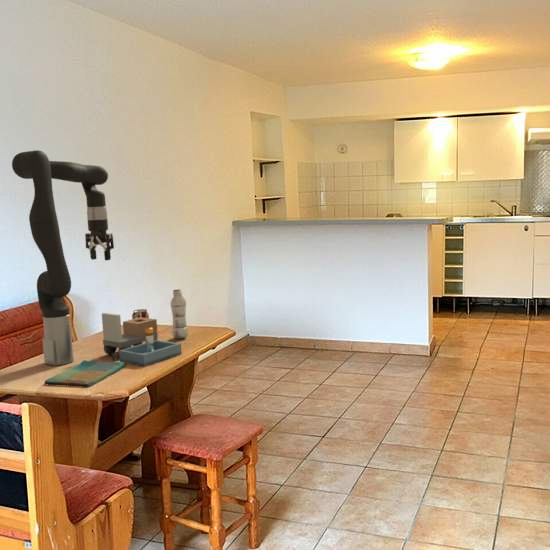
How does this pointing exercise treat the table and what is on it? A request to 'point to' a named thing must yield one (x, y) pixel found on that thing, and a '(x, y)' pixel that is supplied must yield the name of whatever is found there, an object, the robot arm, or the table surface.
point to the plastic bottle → (179, 315)
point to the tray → (150, 353)
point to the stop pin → (149, 339)
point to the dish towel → (86, 374)
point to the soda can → (140, 314)
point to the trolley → (125, 332)
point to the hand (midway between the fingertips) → (100, 259)
